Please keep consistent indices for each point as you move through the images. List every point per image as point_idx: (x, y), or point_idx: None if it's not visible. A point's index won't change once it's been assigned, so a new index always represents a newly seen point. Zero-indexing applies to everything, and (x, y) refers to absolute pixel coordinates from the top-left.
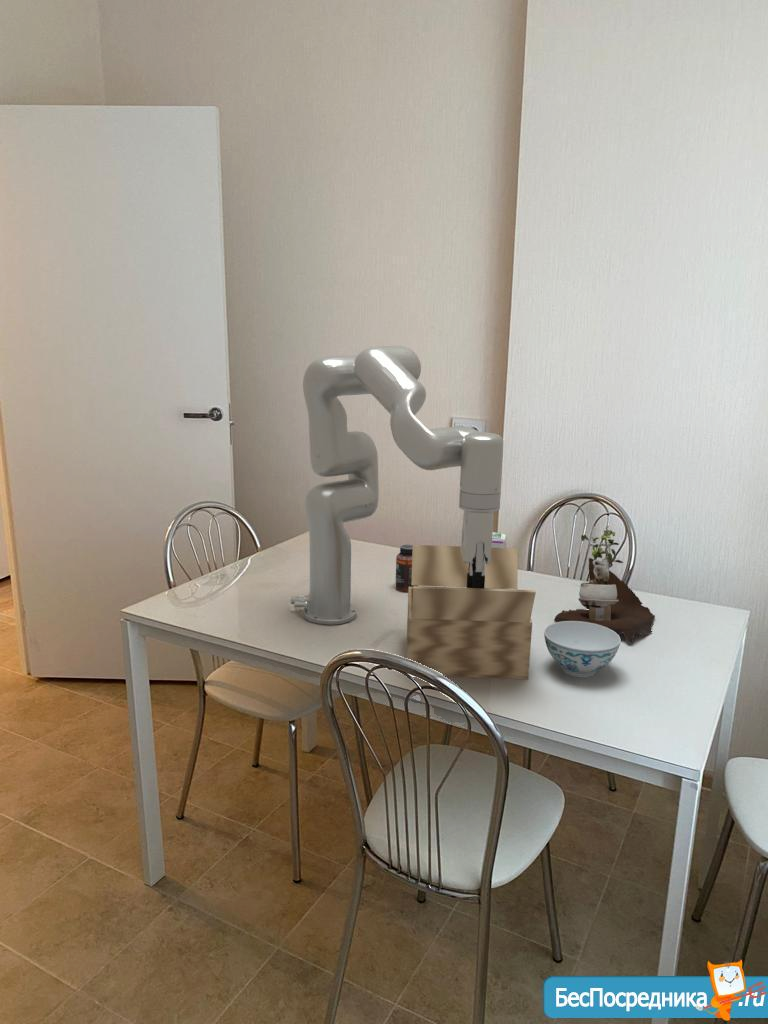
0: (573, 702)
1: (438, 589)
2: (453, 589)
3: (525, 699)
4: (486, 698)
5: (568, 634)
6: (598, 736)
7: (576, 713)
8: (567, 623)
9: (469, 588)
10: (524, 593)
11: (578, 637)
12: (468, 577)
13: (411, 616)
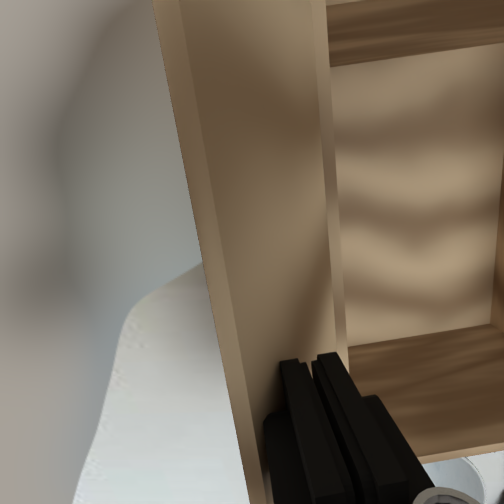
0: (218, 432)
1: (187, 160)
2: (212, 299)
3: (207, 355)
4: (189, 280)
5: (453, 463)
6: (99, 468)
7: (174, 437)
8: (478, 483)
9: (249, 418)
10: None
11: (447, 475)
12: (309, 479)
13: (334, 2)
